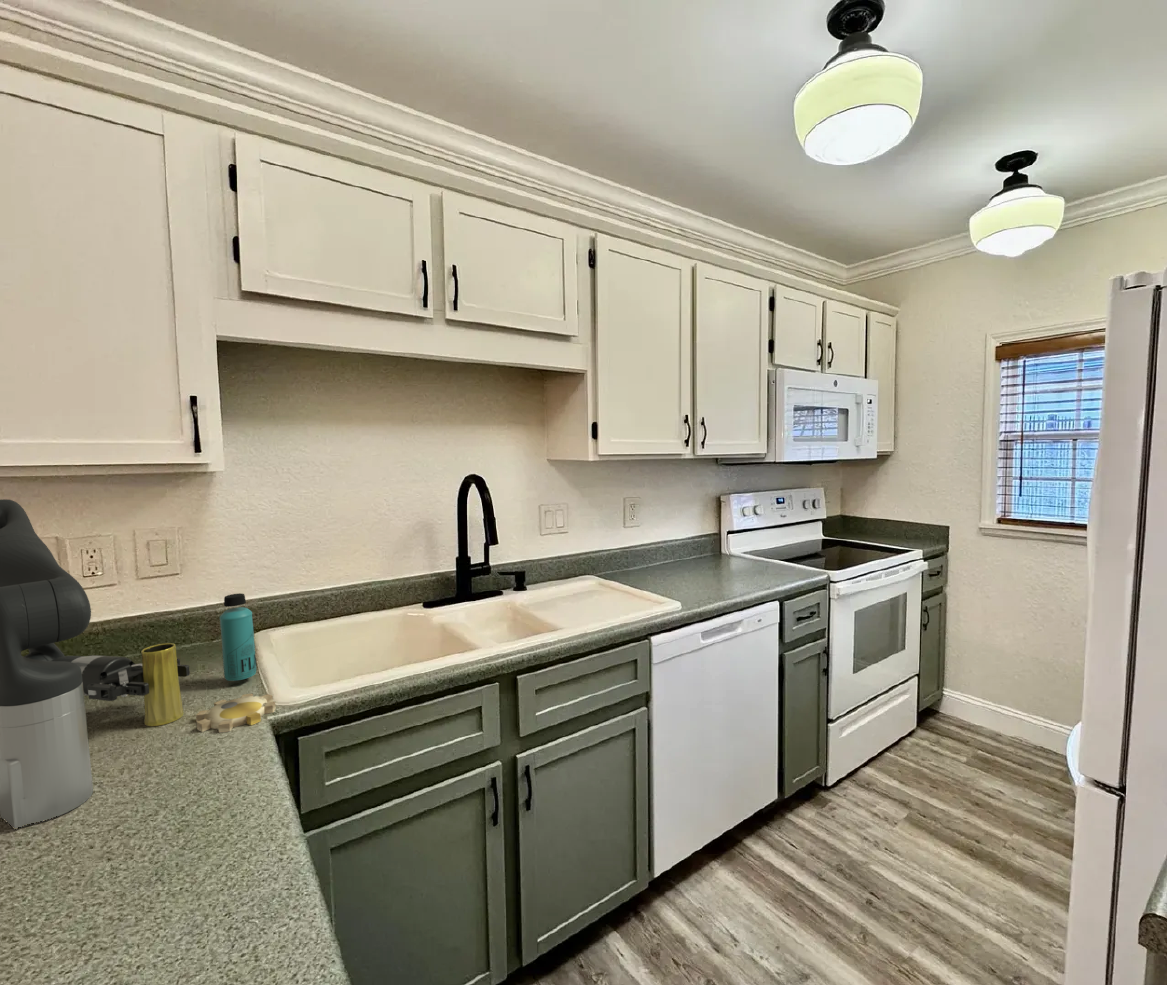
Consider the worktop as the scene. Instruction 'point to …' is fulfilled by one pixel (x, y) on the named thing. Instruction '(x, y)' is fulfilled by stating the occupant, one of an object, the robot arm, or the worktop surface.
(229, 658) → the beverage bottle
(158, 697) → the vase
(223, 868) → the worktop surface
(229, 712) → the sprocket board
